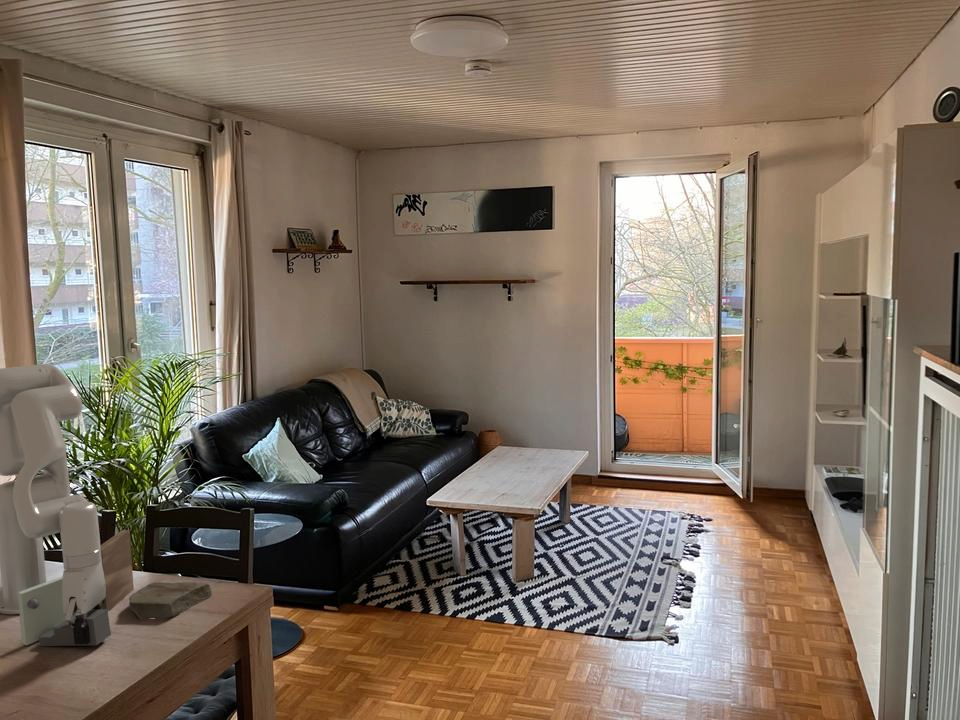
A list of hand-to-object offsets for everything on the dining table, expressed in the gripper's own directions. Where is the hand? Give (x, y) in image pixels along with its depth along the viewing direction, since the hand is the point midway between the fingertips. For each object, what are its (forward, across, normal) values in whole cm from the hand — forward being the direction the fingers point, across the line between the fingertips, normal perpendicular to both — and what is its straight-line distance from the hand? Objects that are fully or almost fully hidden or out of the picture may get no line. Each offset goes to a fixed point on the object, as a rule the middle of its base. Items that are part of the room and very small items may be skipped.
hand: (89, 636), depth 173 cm
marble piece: (+2, -20, +9) cm, 22 cm away
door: (+1, -6, -9) cm, 11 cm away
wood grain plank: (+1, -22, -5) cm, 23 cm away
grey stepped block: (+1, 0, -4) cm, 4 cm away
